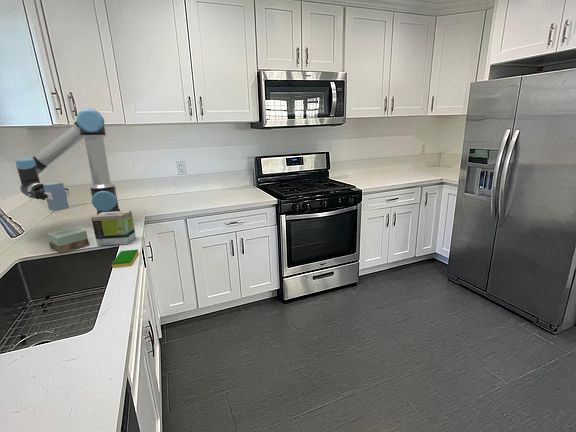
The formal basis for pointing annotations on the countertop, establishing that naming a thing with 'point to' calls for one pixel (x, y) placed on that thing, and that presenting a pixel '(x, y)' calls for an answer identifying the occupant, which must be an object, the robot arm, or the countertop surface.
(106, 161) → the robot arm
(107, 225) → the tea box
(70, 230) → the tower top
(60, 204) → the blue block
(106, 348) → the countertop surface
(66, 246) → the block
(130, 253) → the dish sponge
